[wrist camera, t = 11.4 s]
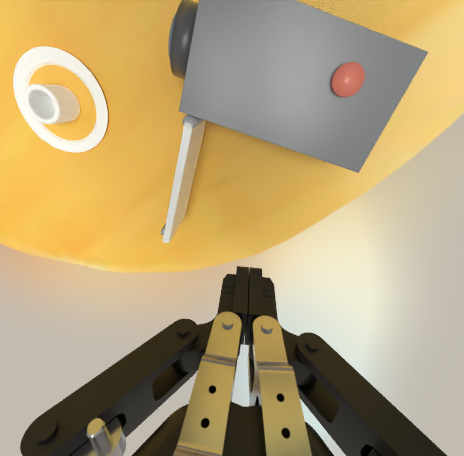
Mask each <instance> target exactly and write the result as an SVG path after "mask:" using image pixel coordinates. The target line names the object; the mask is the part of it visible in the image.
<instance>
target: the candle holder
mask: <svg viewBox="0 0 464 456" xmlns="http://www.w3.org/2000/svg"><path fill="white" fill-rule="evenodd" d="M45 65H58V66H62V67H64V68H66V69H68V70H70V71H72V72H73V73H74V74H76V75H77V76H78V77H79V78H80V79H81V80H82V81H83V82H84V83H85V85H86V86H87V88H88V89H89V91H90V93H91V95H92V97H93V99H94V102H95V106H96V123H95V127H94V129H93V131H92V132H91V133H90V134H89V135H88V136H87V137H86V138H84V139H81V140H77V141H70V140H65V139H62V138H60V137H58V136H56V135H54V134H53V133H51V132H50V131H49V130H48V129H47V128H46V127H45V126H44V125H43V124H42V123H44V124H56V123H63V122H70V121H73V120H75V119H76V118H77V117H78V116H79V114H80V104H79V101H78V99H77V97H76V96H75V94H74V93H73V92H72V91H71V90H70V89H68V88H67V87H65V86H61V85H49V84H32V85H30V86H29V82H30V79H31V77H32V75H33V73H34V72H35V71H36V70H37V69H38V68H40V67H42V66H45ZM13 87H14V93H15V98H16V101H17V104H18V106H19V109H20V111H21V113H22V115H23V117H24V118H25V120H26V121H27V123H28V124H29V125H30V127H31V128H32V129H33V130H34V132H35V133H36V134H37V135H38V136H39V137H40V138H41V139H43V140H44V141H46V142H47V143H49V144H50V145H52V146H53V147H55V148H57V149H60V150H64V151H68V152H84V151H88V150H90V149H92V148H94V147H95V146H96V145H97V144H98V143H99V142H100V141H101V140H102V138H103V136H104V134H105V132H106V128H107V123H108V111H107V105H106V101H105V97H104V95H103V92H102V90H101V88H100V86H99V84H98V82H97V80H96V79H95V77H94V76H93V75H92V73H91V72H90V71H89V70H88V68H87V67H86V66H85V65H84V64H83V63H82V62H80V61H79V60H78V59H77V58H75V57H74V56H72V55H71V54H69V53H67V52H65V51H63V50H61V49H58V48H54V47H48V46H42V47H36V48H33V49H31V50H29V51H27V52H26V53H25V54H23V56H22V57H21V58H20V59H19V61H18V63H17V65H16V67H15V71H14V77H13Z"/></svg>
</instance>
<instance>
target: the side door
mask: <svg viewBox="0 0 464 456" xmlns="http://www.w3.org/2000/svg"><path fill="white" fill-rule="evenodd" d="M206 122H207V121H206V120H203V119H200V118H197V117H194V116H191V115H187V116H185V117H184V119H183V124H184V129H183V135H182V140H181V145H180V151H179V156H178V161H177V167H176V172H175V177H174V183H173V188H172V193H171V199H170V204H169V209H168V215H167V220H166V224H165V225H164V226H163V228H162V230H161V234H162V235H164V236H163V241H162V242H165V243H169V242H170V241H171V239H172V237H173V235H174V234H175V232H176V230H177V229H178V227H179V225H180V223H181V222H182V220H183V218H184V217H185V214H186V210H187V205H188V201H189V196H190V192H191V188H192V183H193V179H194V174H195V170H196V166H197V161H198V157H199V152H200V148H201V144H202V139H203V135H204V131H205V126H206Z"/></svg>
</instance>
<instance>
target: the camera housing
mask: <svg viewBox="0 0 464 456" xmlns="http://www.w3.org/2000/svg"><path fill="white" fill-rule="evenodd" d="M427 53H428V52H427V51H424V50H422V49H419V48H417V47H414V46H412V45H409V44H406V43H404V42H401V41H399V40H396V39H394V38H391V37H388V36H386V35H383V34H381V33H378V32H376V31H373V30H370V29H368V28H365V27H363V26H360V25H358V24H355V23H352V22H350V21H347V20H345V19H342V18H340V17H337V16H334V15H332V14H329V13H327V12H324V11H322V10H319V9H316V8H314V7H311V6H309V5H306V4H304V3H301V2H298V1H296V0H199V3H195V2H193V1H190V0H182V2H181V3H180V5H179V7H178V10H177V12H176V14H175V16H174V18H173V21H172V25H171V29H170V35H169V58H170V64H171V70H172V73H173V75H174V76H176V77H179V78H182V79H185V81H184V86H183V92H182V97H181V103H180V108H179V111H180V112H183V113H186V114H189V115H191V116H194V117H197V118H200V119H203V120H206V121H209V122H212V123H215V124H218V125H221V126H223V127H226V128H229V129H232V130H235V131H238V132H241V133H244V134H247V135H250V136H253V137H256V138H258V139H261V140H264V141H267V142H270V143H273V144H276V145H279V146H282V147H285V148H288V149H291V150H293V151H296V152H299V153H302V154H305V155H308V156H311V157H314V158H317V159H320V160H323V161H326V162H328V163H331V164H334V165H337V166H340V167H343V168H346V169H349V170H352V171H355V172H358V173H359V171H360V169H361V168H362V166H363V164H364V162H365V161H366V159H367V157H368V156H369V154H370V152H371V150H372V149H373V147H374V145H375V143H376V142H377V140H378V138H379V136H380V135H381V133H382V131H383V130H384V128H385V126H386V124H387V123H388V121H389V119H390V117H391V116H392V114H393V112H394V111H395V109H396V107H397V105H398V104H399V102H400V100H401V98H402V97H403V95H404V93H405V92H406V90H407V88H408V86H409V85H410V83H411V81H412V79H413V78H414V76H415V74H416V72H417V71H418V69H419V67H420V66H421V64H422V62H423V60H424V59H425V57H426V55H427Z"/></svg>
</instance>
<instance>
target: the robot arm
mask: <svg viewBox="0 0 464 456" xmlns="http://www.w3.org/2000/svg"><path fill="white" fill-rule="evenodd" d="M244 336H245V345H249V354H248V375H249V394H250V404H249V407H243V406H240V405H238V404H235V403H233V402H232V394H233V387H234V380H235V372H236V366H237V359H238V356H239V353H240V345H241V344H243V343H244ZM197 370H198V373H197V376H196V380H195V383H194V387H193V390H192V394H191V398H190V401H189V404H188V405H185V406H183V407H181V408H179V409H178V410H176V411H175V412H174V413H173V414H171V415H170V416H169V417H168V418H167V419H166V420H165V421H164V422H163V423H162V425H161V426H160V427H159V428H158V429H157V430H156V431H155V432H154V433H153V434H152V435H151V436H150V437H149V438H148V439H147V440H146V441H145V442H144V443H143V444H142V445H141V446H140V448H139V449H138V450H137V451H136V452H135V453H134V454H133V455H132V456H334V455H333V454H332V452H331V451H330V450H329V448H328V447H327V446H326V444H325V443H324V441H323V440H322V439H321V437H320V436H319V435H318V433H317V432H316V431H315V430H314V429H313V428H312V427H311V426H310V425H309V424H308V423H307V422H305V421H304V416H303V412H302V407H301V402H300V399H301V400H302V401H303V402H304V404H305V405H306V406H307V407H308V408H309V410H310V411H311V412H312V414H313V415H314V416H315V417H316V418H317V420H318V421H319V422H320V424H321V425H322V426H323V427H324V429H325V430H326V431H327V432H328V434H329V435H330V436H331V437H332V439H333V440H334V441H335V442H336V444H337V445H338V446H339V447H340V448H341V450H342V451H343V452H344V453H345V455H346V456H447V455H446V454H445V453H444V452H443V451H442V450H440V449H439V448H438V447H437V446H436V445H435V444H434V443H433V442H432V441H431V440H430V439H429V438H428V437H427V436H426V435H424V434H423V433H422V432H421V431H420V430H419V429H418V428H417V427H416V426H415V425H414V424H413V423H412V422H411V421H409V420H408V419H407V418H406V417H405V416H404V415H403V414H402V413H401V412H400V411H399V410H398V409H397V408H396V407H395V406H393V405H392V404H391V403H390V402H389V401H388V400H387V399H386V398H385V397H384V396H383V395H382V394H381V393H379V392H378V391H377V390H376V389H375V388H374V387H373V386H372V385H371V384H370V383H369V382H368V381H367V380H366V379H365V378H364V377H362V376H361V375H360V374H359V373H358V372H357V371H356V370H355V369H354V368H353V367H352V366H351V365H349V364H348V363H347V362H346V361H345V360H344V359H343V358H342V357H341V356H340V355H339V354H338V353H337V352H336V351H335V350H334V349H333V348H331V347H330V346H329V345H328V344H327V343H326V342H325V341H324V340H323V339H322V338H321V337H319V336H318V335H316V334H313V333H303V334H301V335H300V336H297V335H294V334H292V333H290V332H288V331H286V330H284V329H283V328H282V327H281V325H280V324H279V322H278V319H277V310H276V301H275V291H274V284H273V282H272V281H271V279H270V278H265V277H262V269H260V268H251V267H250V269H249V267H240V266H237V273H236V275H234V274H227V275H226V277H225V278H224V279H223V284H222V290H221V296H220V302H219V308H218V313H217V315H216V317H215V318H214V319H213V320H212V321H210V322H208V323H205V324H200V325H197V324H196V323H195V322H194V321H192V320H190V319H180V320H177V321H176V322H174V323H173V324H171V325H170V326H168V327H167V328H165V329H164V330H163V331H161V332H160V333H158V334H157V335H155V336H154V337H152V338H151V339H150V340H148V341H147V342H145V343H144V344H142V345H141V346H140V347H138V348H137V349H135V350H134V351H132V352H131V353H130V354H128V355H127V356H125V357H124V358H122V359H121V360H119V361H118V362H117V363H115V364H114V365H112V366H111V367H109V368H108V369H107V370H105V371H104V372H102V373H101V374H100V375H98V376H96V377H95V378H94V379H92V380H91V381H89V382H88V383H87V384H85V385H84V386H82V387H81V388H79V389H78V390H76V391H75V392H74V393H72V394H71V395H70V396H68V397H66V398H65V399H63V400H62V401H61V402H59V403H58V404H56V405H55V406H53V407H52V408H51V409H49V410H48V411H46V412H45V413H44V414H42V415H41V416H39V417H38V418H37V419H36V420H35V421H34V422H33V423H32V424H31V425H30V426H29V427H28V429H27V430H26V432H25V434H24V436H23V438H22V441H21V447H20V449H21V453H22V455H23V456H123V454H124V451H125V448H126V439H125V438H126V437H127V436H128V435H129V434H130V433H131V432H132V431H133V430H135V429H136V428H137V427H138V426H139V425H140V424H141V423H142V422H143V421H144V420H145V419H147V417H149V416H150V415H151V414H152V413H153V412H154V411H155V410H156V409H157V408H158V407H159V406H161V405H162V404H163V403H164V402H165V401H166V400H167V399H168V398H169V397H170V396H171V395H172V394H174V393H175V392H176V391H177V390H178V389H179V388H180V387H181V386H182V385H183V384H184V383H185V382H186V381H188V380H189V378H191V377H192V376H193V375H194V374H195V373H196V371H197Z"/></svg>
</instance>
